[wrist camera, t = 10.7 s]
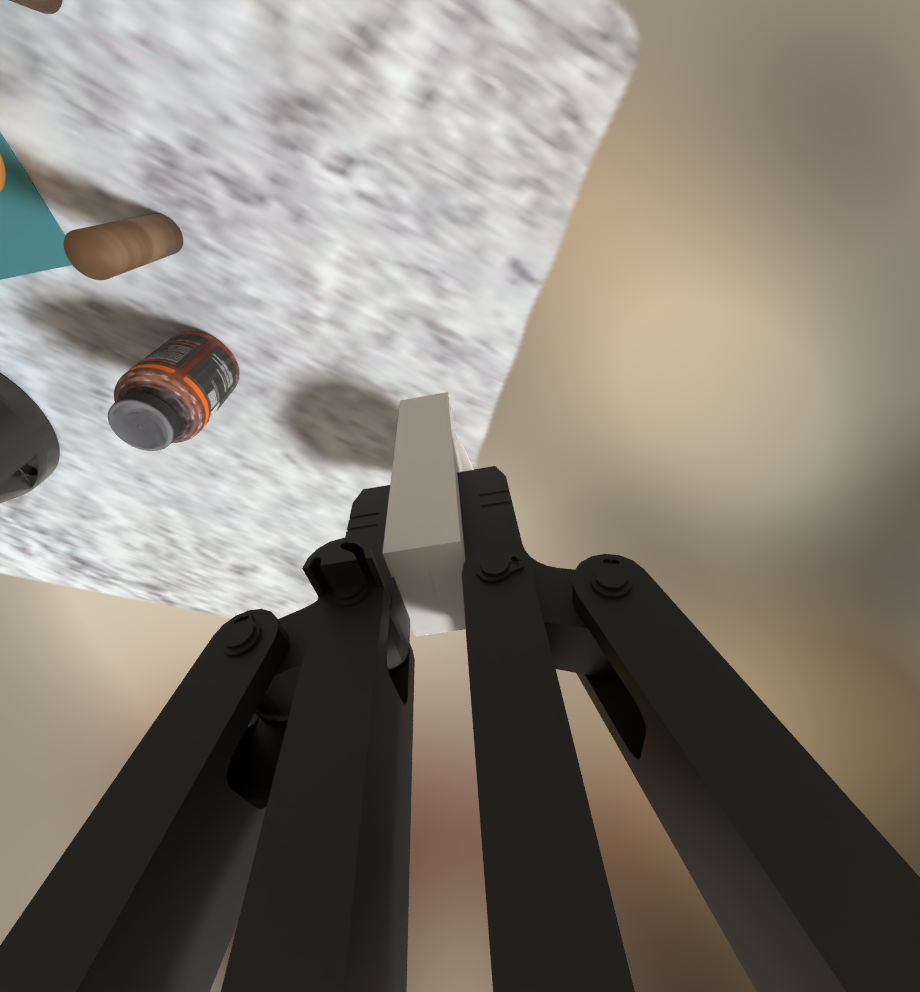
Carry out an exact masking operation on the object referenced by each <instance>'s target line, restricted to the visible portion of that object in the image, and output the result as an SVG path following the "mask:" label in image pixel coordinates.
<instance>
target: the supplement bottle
mask: <svg viewBox="0 0 920 992" xmlns="http://www.w3.org/2000/svg"><path fill="white" fill-rule="evenodd" d="M238 381H239V367H238V364H237V361H236V359H235V357H234V356H233V354H232V353H231V351H230V350H229V349H228V348H227V347H226V346H225V345H224V344H223V343H221V342H220V341H218V340H217V339H215V338H214V337H211V336H210V335H207V334H204V333H199V332H185V333H181V334H179V335H177V336H175V337H173V338H171V339H170V340H169V341H167V342H166V343H165V344H163V345H162V346H161V347H160V348H158V349H157V350H156V351H154V352H153V353H151V354H150V355H149V356H147V357H146V358H145V359H144V360H142V361H141V362H139V363H138V364H137V365H135V366H134V367H132V368H131V369H130V370H129V371H128V372H126V373H125V374H124V375H123V376H122V377H121V378H120V379H119V381H118V382H117V384H116V387H115V390H114V400H115V403H114V404H113V405H112V406H111V408H110V410H109V412H108V420H109V424H110V426H111V428H112V429H113V431H114V432H115V434H116V435H117V436H118V437H119V438H121V439H122V440H123V441H124V442H126V443H127V444H129V445H131V446H133V447H136V448H138V449H142V450H147V451H157V450H161V449H164V448H166V447H167V446H169V445H170V444H171V443H177V442H183V441H186V440H189V439H191V438H193V437H194V436H196V435H197V434H198V433H199V432H200V431H201V430H202V429H203V427H204V426H205V425H206V424H207V422H208V421H209V420H210V419H211V417H212V416H213V415H214V414H215V412H216V411H217V410H218V409H219V408H220V406H221V405H222V404H223V403H224V401H225V400H226V399H227V398H228V396H229V395H230V394H231V393H232V391H233V390H234V389H235V387H236V385H237V383H238Z"/></svg>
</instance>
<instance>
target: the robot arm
mask: <svg viewBox="0 0 920 992" xmlns="http://www.w3.org/2000/svg"><path fill="white" fill-rule="evenodd" d="M59 454H60V452H59V444H58V440H57V437H56V434H55V432H54V429H53V427H52V426H51V424H50V422H49V420H48V419H47V417H46V416H45V415H44V413H43V412H42V411H41V409H40V408H39V407H38V406H37V405H36V404H35V402H34V401H33V400H32V399H31V398H30V397H29V396H28V395H27V394H26V393H25V392H23V391H22V390H21V389H20V388H19V387H18V386H16V385H15V384H14V383H13V382H11V381H10V380H9V379H7V378H6V377H4V376H3V375H2V374H0V503H2V502H5V501H8V500H10V499H13V498H16V497H19V496H21V495H24V494H26V493H28V492H29V491H31V490H33V489H34V488H35V487H37V486H38V485H39V484H40V483H41V482H43V481H44V480H45V479H46V478H47V477H49V476H50V475H51V474H52V473H53V471H54V470H55V468H56V466H57V464H58V461H59ZM347 530H348V532H346V536H345V538H342V539H338V540H335V541H331V542H329V543H327V544H325V545H324V546H322V547H320V548H318V549H317V550H316V551H315V552H314V553H313V554H312V555H311V556H310V557H309V558H308V559H307V561H306V563H305V565H304V566H303V568H302V569H303V570H304V572H305V574H306V576H307V577H308V579H309V581H310V583H311V584H312V586H313V588H314V590H315V591H316V593H317V595H318V600H317V601H316V602H315V603H313V604H311V605H309V606H307V607H305V608H303V609H301V610H299V611H296V612H294V613H292V614H289V615H287V616H285V617H282V618H280V619H277V618H276V617H275V615H274V614H273V613H272V612H270V611H267V610H263V609H257V610H249V611H246V612H244V613H242V614H239V615H237V616H235V617H234V618H232V619H231V620H229V621H228V622H227V623H225V624H224V625H223V626H222V627H221V628H220V629H219V630H218V631H217V632H216V633H215V635H214V636H213V637H212V638H211V640H210V641H209V643H208V644H207V646H206V647H205V649H204V650H203V652H202V653H201V654H200V656H199V658H198V659H197V660H196V662H195V663H194V665H193V666H192V668H191V669H190V670H189V672H188V673H187V675H186V676H185V678H184V679H183V681H182V682H181V684H180V685H179V686H178V688H177V689H176V691H175V692H174V694H173V695H172V697H171V698H170V700H169V701H168V703H167V704H166V705H165V707H164V708H163V710H162V711H161V713H160V714H159V716H158V717H157V719H156V720H155V721H154V723H153V724H152V726H151V727H150V729H149V730H148V732H147V733H146V734H145V736H144V737H143V739H142V740H141V742H140V743H139V745H138V746H137V747H136V749H135V750H134V752H133V753H132V755H131V756H130V758H129V759H128V761H127V762H126V763H125V765H124V766H123V768H122V769H121V771H120V772H119V774H118V775H117V777H116V778H115V779H114V781H113V782H112V784H111V785H110V787H109V788H108V790H107V791H106V793H105V794H104V795H103V797H102V798H101V800H100V801H99V803H98V805H97V806H96V807H95V809H94V810H93V811H92V813H91V814H90V816H89V817H88V819H87V820H86V822H85V823H84V824H83V826H82V828H81V829H80V830H79V832H78V833H77V835H76V836H75V838H74V839H73V840H72V842H71V843H70V845H69V846H68V848H67V849H66V851H65V852H64V854H63V855H62V856H61V858H60V859H59V861H58V862H57V864H56V865H55V867H54V868H53V870H52V871H51V873H50V874H49V876H48V877H47V878H46V880H45V881H44V883H43V884H42V886H41V887H40V888H39V890H38V891H37V893H36V894H35V896H34V897H33V899H32V900H31V902H30V903H29V905H28V906H27V907H26V909H25V910H24V912H23V913H22V915H21V916H20V917H19V919H18V920H17V922H16V923H15V925H14V926H13V928H12V929H11V931H10V932H9V934H8V935H7V936H6V938H5V940H4V941H3V942H2V944H1V945H0V992H210V989H211V987H212V984H213V982H214V979H215V977H216V975H217V972H218V969H219V967H220V965H221V962H222V960H223V957H224V955H225V952H226V950H227V948H228V945H229V943H230V940H231V938H232V935H233V933H234V930H235V928H236V926H237V929H236V933H235V937H234V941H233V945H232V949H231V953H230V957H229V961H228V965H227V969H226V973H225V977H224V982H223V986H222V989H221V992H406V986H407V946H408V906H409V864H410V861H409V860H410V823H411V820H410V819H411V784H412V783H411V782H412V742H413V702H414V661H415V660H414V655H413V650H412V648H411V645H410V643H409V638H410V625H411V628H412V630H413V633H414V635H415V636H422V635H429V634H435V633H442V632H449V631H455V630H462V629H466V639H467V652H468V665H469V677H470V691H471V705H472V718H473V729H474V744H475V757H476V770H477V783H478V797H479V810H480V822H481V836H482V850H483V861H484V876H485V888H486V902H487V915H488V928H489V941H490V955H491V968H492V981H493V992H635V991H634V987H633V983H632V979H631V975H630V971H629V967H628V963H627V959H626V954H625V951H624V946H623V942H622V938H621V934H620V930H619V926H618V922H617V918H616V914H615V910H614V906H613V901H612V897H611V893H610V889H609V885H608V881H607V877H606V873H605V869H604V865H603V861H602V857H601V853H600V849H599V845H598V840H597V836H596V832H595V829H594V824H593V820H592V817H591V812H590V808H589V804H588V799H587V796H586V791H585V787H584V783H583V779H582V775H581V771H580V767H579V763H578V759H577V755H576V751H575V746H574V743H573V739H572V734H571V730H570V726H569V722H568V718H567V714H566V710H565V706H564V702H563V698H562V694H561V689H560V686H559V681H558V677H557V673H556V669H559V670H565V671H570V672H576V673H577V675H578V677H579V678H580V680H581V682H582V684H583V686H584V687H585V689H586V691H587V693H588V694H589V696H590V698H591V700H592V701H593V703H594V705H595V707H596V709H597V710H598V712H599V714H600V715H601V717H602V719H603V721H604V723H605V724H606V726H607V728H608V730H609V732H610V733H611V735H612V737H613V738H614V740H615V742H616V744H617V746H618V747H619V749H620V751H621V753H622V755H623V756H624V758H625V760H626V761H627V763H628V765H629V767H630V769H631V770H632V772H633V774H634V776H635V777H636V779H637V781H638V783H639V784H640V786H641V788H642V790H643V792H644V793H645V795H646V797H647V799H648V800H649V802H650V804H651V806H652V807H653V809H654V811H655V812H656V814H657V816H658V818H659V820H660V822H661V823H662V825H663V827H664V829H665V830H666V832H667V834H668V836H669V837H670V839H671V841H672V843H673V844H674V846H675V848H676V850H677V852H678V853H679V855H680V857H681V859H682V860H683V862H684V864H685V866H686V868H687V869H688V871H689V873H690V874H691V876H692V878H693V880H694V882H695V883H696V885H697V887H698V889H699V890H700V892H701V894H702V896H703V898H704V899H705V901H706V903H707V904H708V906H709V908H710V910H711V912H712V913H713V915H714V917H715V919H716V920H717V922H718V924H719V926H720V928H721V929H722V931H723V933H724V935H725V936H726V938H727V940H728V942H729V943H730V945H731V947H732V949H733V950H734V952H735V954H736V956H737V958H738V959H739V961H740V963H741V965H742V966H743V968H744V970H745V972H746V973H747V975H748V977H749V979H750V980H751V982H752V984H753V986H754V988H755V989H756V991H757V992H920V877H919V876H918V875H917V874H916V873H915V872H914V870H913V869H912V868H911V867H910V866H909V865H908V864H907V862H906V861H905V860H904V859H903V858H902V857H901V856H900V855H899V854H898V852H897V851H896V850H895V849H894V848H893V847H892V846H891V845H890V843H889V842H888V841H887V840H886V839H885V838H884V837H883V836H882V835H881V833H880V832H879V831H878V830H877V829H876V828H875V827H874V826H873V825H872V823H871V822H870V821H869V820H868V819H867V818H866V817H865V816H864V814H863V813H862V812H861V811H860V810H859V809H858V808H857V807H856V806H855V804H854V803H853V802H852V801H851V800H850V799H849V798H848V797H847V795H846V794H845V793H844V792H843V791H842V790H841V789H840V788H839V787H838V785H837V784H836V783H835V782H834V781H833V780H832V779H831V778H830V776H829V775H828V774H827V773H826V772H825V771H824V770H823V769H822V768H821V766H820V765H819V764H818V763H817V762H816V761H815V760H814V759H813V757H812V756H811V755H810V754H809V753H808V752H807V751H806V750H805V749H804V747H803V746H802V745H801V744H800V743H799V742H798V741H797V740H796V738H795V737H794V736H793V735H792V734H791V733H790V732H789V731H788V730H787V728H786V727H785V726H784V725H783V724H782V723H781V722H780V721H779V720H778V718H777V717H776V716H775V715H774V714H773V713H772V712H771V711H770V710H769V708H768V707H767V706H766V705H765V704H764V703H763V702H762V700H761V699H760V698H759V697H758V696H757V695H756V694H755V693H754V692H753V691H752V689H751V688H750V687H749V686H748V685H747V684H746V683H745V682H744V680H743V679H742V678H741V677H740V676H739V675H738V674H737V673H736V671H735V670H734V669H733V668H732V667H731V666H730V665H729V664H728V663H727V661H726V660H725V659H724V658H723V657H722V656H721V655H720V654H719V652H718V651H717V650H716V649H715V648H714V647H713V646H712V645H711V643H710V642H709V641H708V640H707V639H706V638H705V637H704V636H703V635H702V634H701V632H700V631H699V630H698V629H697V628H696V627H695V626H694V624H693V623H692V622H691V621H690V620H689V619H688V618H687V617H686V616H685V614H684V613H683V612H682V611H681V610H680V609H679V608H678V607H677V606H676V604H675V603H674V602H673V601H672V600H671V599H670V598H669V597H668V595H667V594H666V593H665V592H664V591H663V590H662V589H661V588H660V586H659V585H658V584H657V583H656V582H655V581H654V580H653V579H652V578H651V576H650V575H649V574H648V573H647V572H646V571H645V570H644V569H643V568H642V567H640V566H639V565H638V564H637V563H635V562H634V561H633V560H630V559H627V558H625V557H622V556H619V555H610V554H603V555H597V556H591V557H590V558H588V559H586V560H584V561H582V562H581V563H580V564H579V565H578V567H577V568H576V569H575V570H572V569H563V568H555V567H550V566H546V565H544V564H541V563H539V562H537V561H536V560H534V559H533V558H531V557H530V556H529V555H528V553H526V551H525V549H524V547H523V545H522V541H521V537H520V533H519V529H518V525H517V521H516V516H515V512H514V508H513V504H512V500H511V496H510V492H509V488H508V483H507V479H506V476H505V475H504V474H503V473H502V472H501V471H499V469H498V468H497V467H495V466H493V467H487V468H481V469H475V470H469V471H463V468H462V462H461V457H460V451H459V446H458V441H457V436H456V431H455V426H454V420H453V415H452V410H451V405H450V400H449V395H448V392H446V393H441V394H435V395H429V396H424V397H418V398H413V399H407V400H401V401H400V407H399V415H398V424H397V433H396V441H395V450H394V458H393V467H392V476H391V484H390V485H387V486H381V487H375V488H369V489H363V490H362V492H361V493H360V494H359V496H358V497H357V498H356V500H355V501H354V502H353V504H352V509H351V513H350V520H349V523H348V527H347ZM237 923H238V925H237Z"/></svg>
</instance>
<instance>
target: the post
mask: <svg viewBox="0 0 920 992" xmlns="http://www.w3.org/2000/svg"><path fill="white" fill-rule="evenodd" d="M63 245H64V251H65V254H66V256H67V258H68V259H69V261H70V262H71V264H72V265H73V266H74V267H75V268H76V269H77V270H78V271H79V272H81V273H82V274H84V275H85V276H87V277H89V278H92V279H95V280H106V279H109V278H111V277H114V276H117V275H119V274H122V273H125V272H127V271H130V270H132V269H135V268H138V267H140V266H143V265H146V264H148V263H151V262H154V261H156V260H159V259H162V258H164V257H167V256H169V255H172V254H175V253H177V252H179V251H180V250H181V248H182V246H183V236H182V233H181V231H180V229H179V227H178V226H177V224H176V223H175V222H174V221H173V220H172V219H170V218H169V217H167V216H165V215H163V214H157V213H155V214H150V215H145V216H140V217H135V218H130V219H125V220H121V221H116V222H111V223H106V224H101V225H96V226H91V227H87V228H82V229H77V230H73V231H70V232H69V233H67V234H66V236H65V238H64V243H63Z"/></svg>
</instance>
